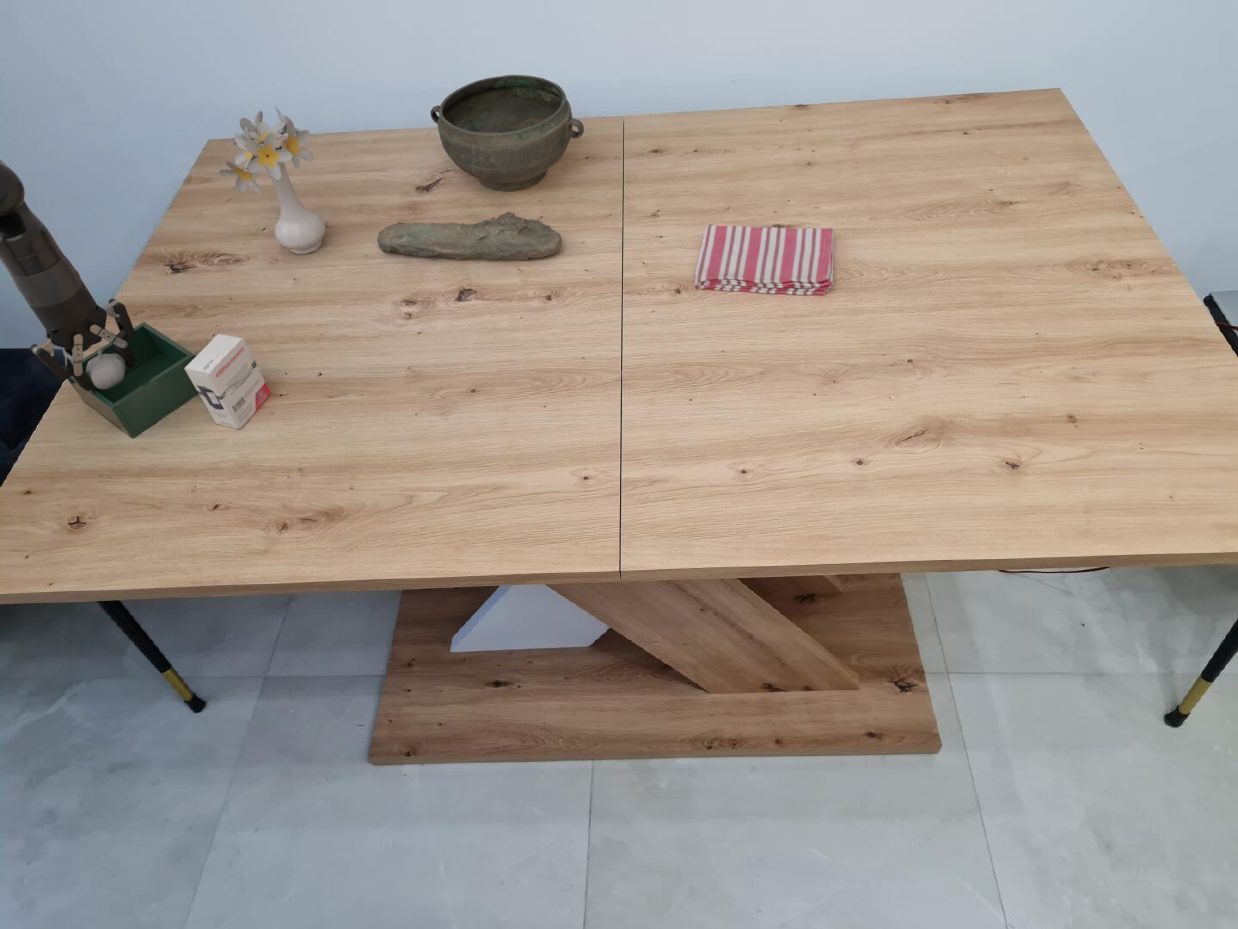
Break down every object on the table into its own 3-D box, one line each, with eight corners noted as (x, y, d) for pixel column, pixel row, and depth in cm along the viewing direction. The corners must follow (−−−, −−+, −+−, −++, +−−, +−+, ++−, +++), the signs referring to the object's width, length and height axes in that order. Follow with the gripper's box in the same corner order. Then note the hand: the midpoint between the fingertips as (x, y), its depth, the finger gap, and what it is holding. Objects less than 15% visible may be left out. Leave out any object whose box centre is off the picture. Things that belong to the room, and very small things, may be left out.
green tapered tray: (132, 439, 139) (111, 408, 134) (83, 401, 145) (62, 371, 141) (211, 385, 146) (194, 354, 141) (161, 351, 153) (144, 321, 148)
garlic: (112, 365, 141) (96, 339, 137) (140, 372, 140) (124, 346, 136) (85, 391, 137) (68, 365, 134) (113, 397, 136) (96, 372, 132)
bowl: (608, 147, 188) (602, 76, 177) (566, 216, 172) (557, 143, 160) (467, 134, 196) (453, 65, 185) (415, 199, 179) (396, 128, 168)
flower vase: (254, 276, 166) (198, 150, 147) (293, 219, 178) (245, 96, 159) (321, 278, 164) (272, 151, 145) (355, 220, 176) (314, 96, 157)
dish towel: (832, 297, 150) (834, 280, 147) (692, 290, 154) (692, 273, 151) (833, 238, 161) (835, 221, 159) (703, 233, 165) (703, 216, 162)
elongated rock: (392, 234, 174) (376, 268, 168) (382, 211, 170) (366, 245, 164) (567, 231, 167) (557, 266, 161) (562, 207, 163) (552, 242, 157)
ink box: (247, 387, 145) (217, 330, 136) (272, 393, 144) (244, 336, 135) (214, 424, 140) (181, 367, 131) (240, 430, 138) (209, 373, 130)
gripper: (85, 253, 131) (139, 342, 143) (-10, 305, 124) (55, 394, 136) (113, 270, 127) (165, 360, 140) (16, 325, 120) (81, 414, 133)
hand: (111, 376), depth 138 cm, fingers closed on garlic, 6 cm apart
